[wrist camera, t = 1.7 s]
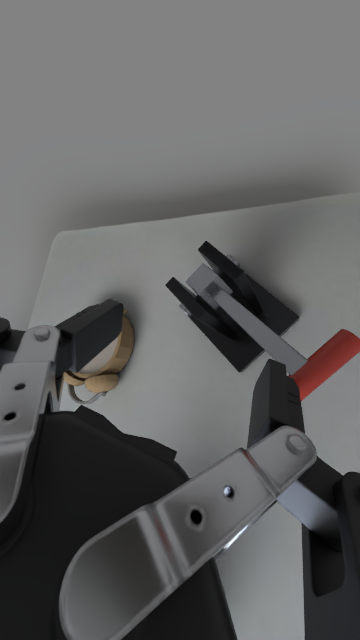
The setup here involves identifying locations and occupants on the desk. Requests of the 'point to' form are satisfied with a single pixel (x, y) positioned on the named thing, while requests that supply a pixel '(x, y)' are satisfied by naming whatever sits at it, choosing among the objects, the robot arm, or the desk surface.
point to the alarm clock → (103, 366)
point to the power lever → (299, 368)
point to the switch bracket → (219, 323)
